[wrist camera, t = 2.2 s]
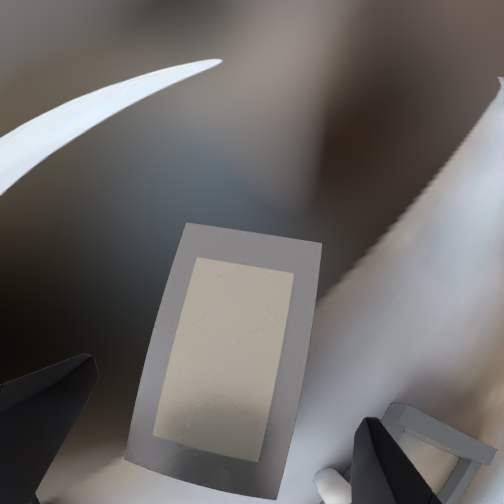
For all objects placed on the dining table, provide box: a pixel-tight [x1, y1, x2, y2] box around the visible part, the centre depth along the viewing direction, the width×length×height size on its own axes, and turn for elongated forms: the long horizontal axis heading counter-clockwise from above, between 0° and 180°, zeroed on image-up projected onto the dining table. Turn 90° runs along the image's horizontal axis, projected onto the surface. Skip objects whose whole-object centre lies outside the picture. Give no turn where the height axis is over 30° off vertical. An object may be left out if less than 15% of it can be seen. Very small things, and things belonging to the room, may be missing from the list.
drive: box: [125, 223, 322, 500], centre depth 12 cm, size 8×4×10 cm, turn 169°
